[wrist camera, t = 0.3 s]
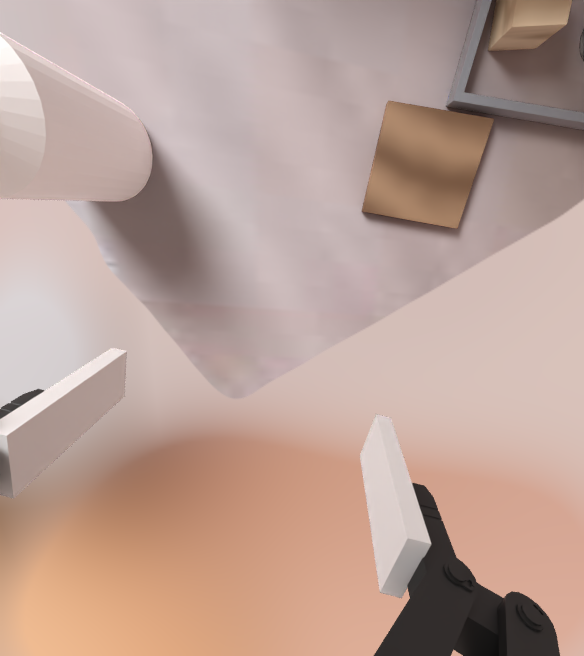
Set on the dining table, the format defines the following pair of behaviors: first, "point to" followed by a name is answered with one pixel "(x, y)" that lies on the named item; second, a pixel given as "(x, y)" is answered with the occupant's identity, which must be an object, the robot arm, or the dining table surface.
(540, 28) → the beech block
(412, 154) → the light brown wooden board
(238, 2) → the dining table surface
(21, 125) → the bottle
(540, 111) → the tray
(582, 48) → the dark grey chess piece
